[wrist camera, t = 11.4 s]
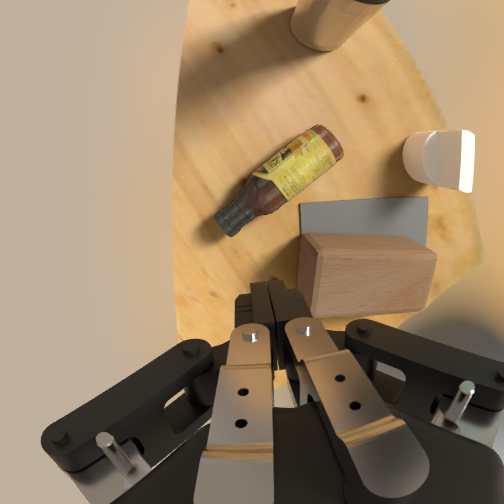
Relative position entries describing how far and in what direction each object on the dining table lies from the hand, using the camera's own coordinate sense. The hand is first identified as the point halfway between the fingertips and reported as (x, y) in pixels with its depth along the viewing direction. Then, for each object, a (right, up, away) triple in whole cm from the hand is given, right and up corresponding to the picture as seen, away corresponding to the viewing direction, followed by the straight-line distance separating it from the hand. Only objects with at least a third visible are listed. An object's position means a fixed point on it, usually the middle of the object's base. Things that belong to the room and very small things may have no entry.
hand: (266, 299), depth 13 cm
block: (+7, -1, +28) cm, 28 cm away
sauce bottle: (+11, +18, +24) cm, 32 cm away
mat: (+19, +3, +33) cm, 38 cm away
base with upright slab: (+29, +19, +28) cm, 44 cm away
